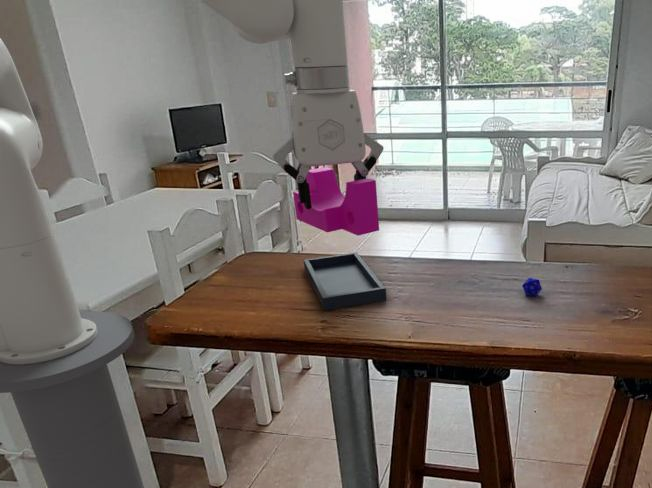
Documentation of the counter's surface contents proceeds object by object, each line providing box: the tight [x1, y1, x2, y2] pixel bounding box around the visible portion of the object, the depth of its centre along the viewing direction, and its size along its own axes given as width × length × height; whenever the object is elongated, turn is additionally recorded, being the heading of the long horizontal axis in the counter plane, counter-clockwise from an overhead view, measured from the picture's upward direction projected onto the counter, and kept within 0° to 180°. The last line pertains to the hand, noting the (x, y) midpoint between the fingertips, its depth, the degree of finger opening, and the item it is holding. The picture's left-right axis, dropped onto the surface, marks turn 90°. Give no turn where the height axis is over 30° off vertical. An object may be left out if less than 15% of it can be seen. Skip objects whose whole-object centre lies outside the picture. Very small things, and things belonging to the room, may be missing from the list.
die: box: [521, 277, 543, 297], centre depth 87 cm, size 3×3×3 cm
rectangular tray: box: [303, 252, 387, 311], centre depth 93 cm, size 10×19×2 cm, turn 19°
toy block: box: [292, 166, 380, 236], centre depth 88 cm, size 15×6×8 cm, turn 37°
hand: (334, 203), depth 88 cm, fingers closed on toy block, 7 cm apart
